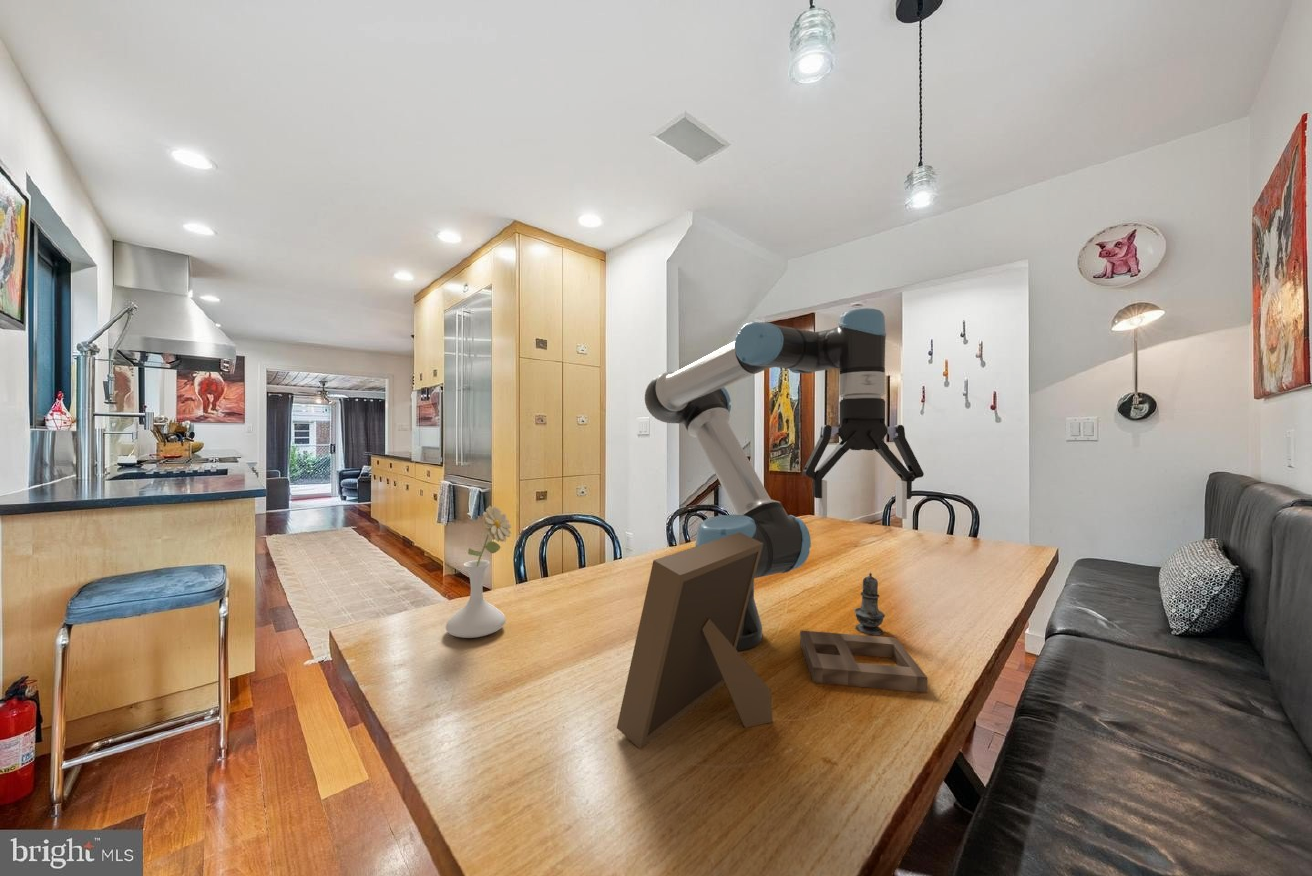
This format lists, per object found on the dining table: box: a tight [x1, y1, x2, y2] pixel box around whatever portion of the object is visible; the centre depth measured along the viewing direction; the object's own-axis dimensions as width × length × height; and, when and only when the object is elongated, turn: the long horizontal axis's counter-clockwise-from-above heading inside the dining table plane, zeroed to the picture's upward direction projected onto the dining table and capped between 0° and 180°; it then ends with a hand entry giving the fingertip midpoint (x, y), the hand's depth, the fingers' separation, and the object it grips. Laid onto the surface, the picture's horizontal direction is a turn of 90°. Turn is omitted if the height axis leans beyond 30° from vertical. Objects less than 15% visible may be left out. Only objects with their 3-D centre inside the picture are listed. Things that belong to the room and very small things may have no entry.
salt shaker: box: [853, 572, 886, 636], centre depth 100 cm, size 6×6×12 cm
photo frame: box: [616, 533, 774, 750], centre depth 68 cm, size 15×22×25 cm
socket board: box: [799, 630, 928, 694], centre depth 85 cm, size 18×14×2 cm
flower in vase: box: [445, 505, 512, 639], centre depth 97 cm, size 13×11×25 cm
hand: (861, 517), depth 85 cm, fingers open, 13 cm apart
